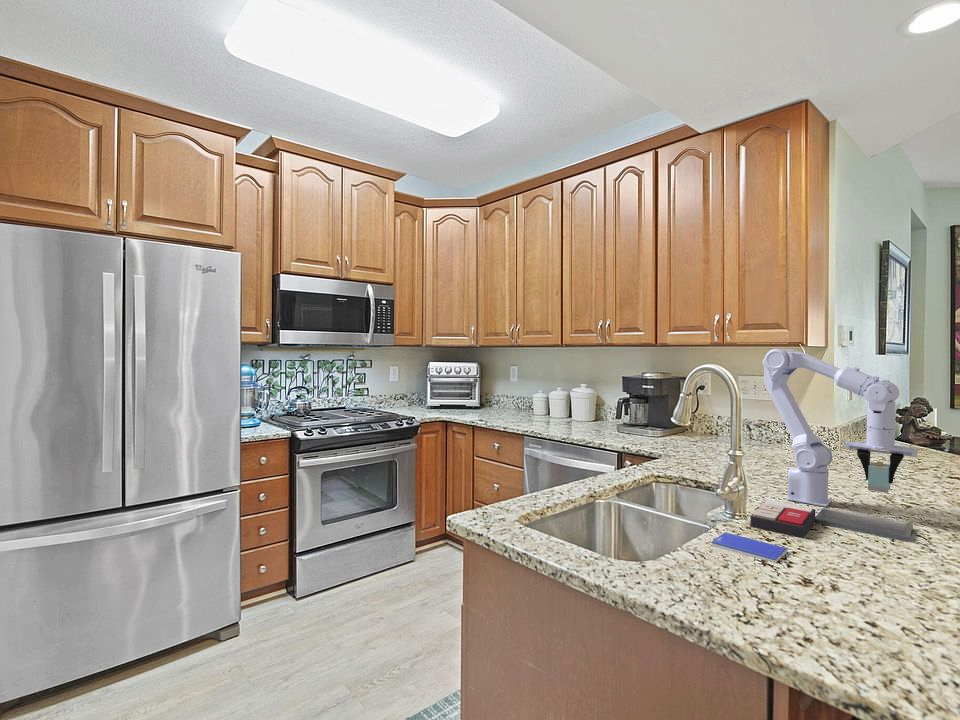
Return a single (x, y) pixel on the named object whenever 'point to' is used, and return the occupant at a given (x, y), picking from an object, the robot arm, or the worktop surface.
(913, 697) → the worktop surface
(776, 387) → the robot arm
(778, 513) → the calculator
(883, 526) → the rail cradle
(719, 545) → the hard drive
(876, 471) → the block
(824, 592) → the worktop surface
